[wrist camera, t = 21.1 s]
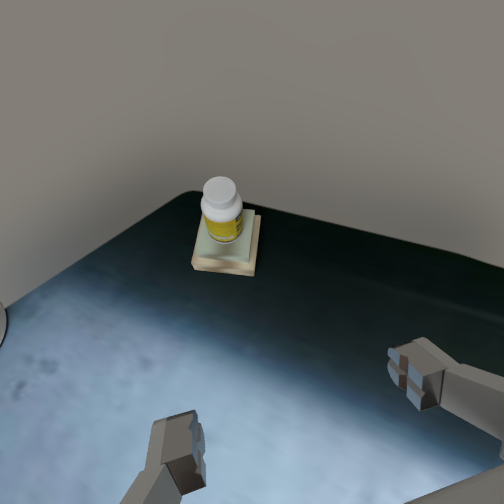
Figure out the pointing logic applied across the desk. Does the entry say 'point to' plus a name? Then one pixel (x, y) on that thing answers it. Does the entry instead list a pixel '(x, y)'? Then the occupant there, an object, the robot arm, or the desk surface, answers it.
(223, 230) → the supplement bottle
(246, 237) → the two-tone square platform
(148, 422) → the desk surface
